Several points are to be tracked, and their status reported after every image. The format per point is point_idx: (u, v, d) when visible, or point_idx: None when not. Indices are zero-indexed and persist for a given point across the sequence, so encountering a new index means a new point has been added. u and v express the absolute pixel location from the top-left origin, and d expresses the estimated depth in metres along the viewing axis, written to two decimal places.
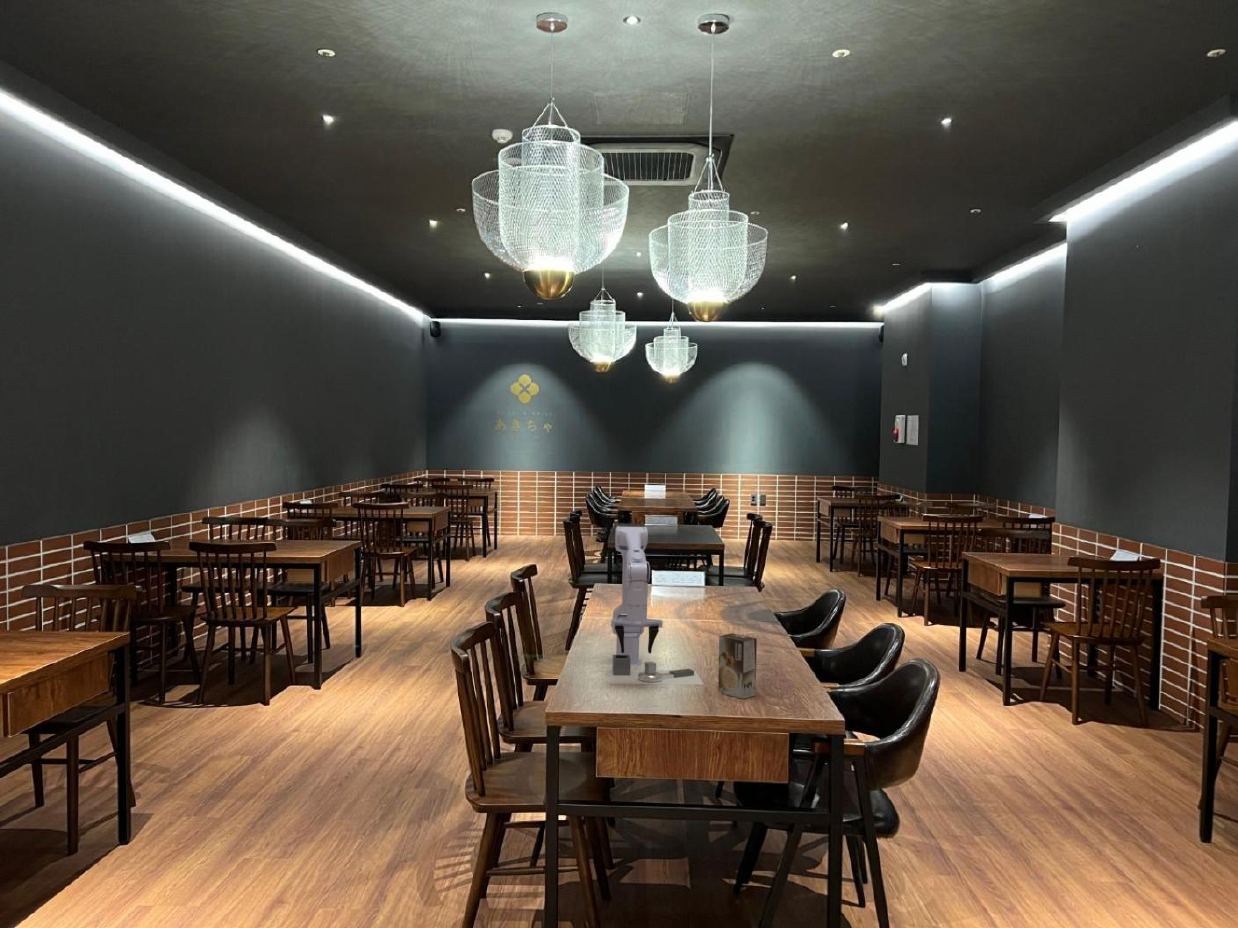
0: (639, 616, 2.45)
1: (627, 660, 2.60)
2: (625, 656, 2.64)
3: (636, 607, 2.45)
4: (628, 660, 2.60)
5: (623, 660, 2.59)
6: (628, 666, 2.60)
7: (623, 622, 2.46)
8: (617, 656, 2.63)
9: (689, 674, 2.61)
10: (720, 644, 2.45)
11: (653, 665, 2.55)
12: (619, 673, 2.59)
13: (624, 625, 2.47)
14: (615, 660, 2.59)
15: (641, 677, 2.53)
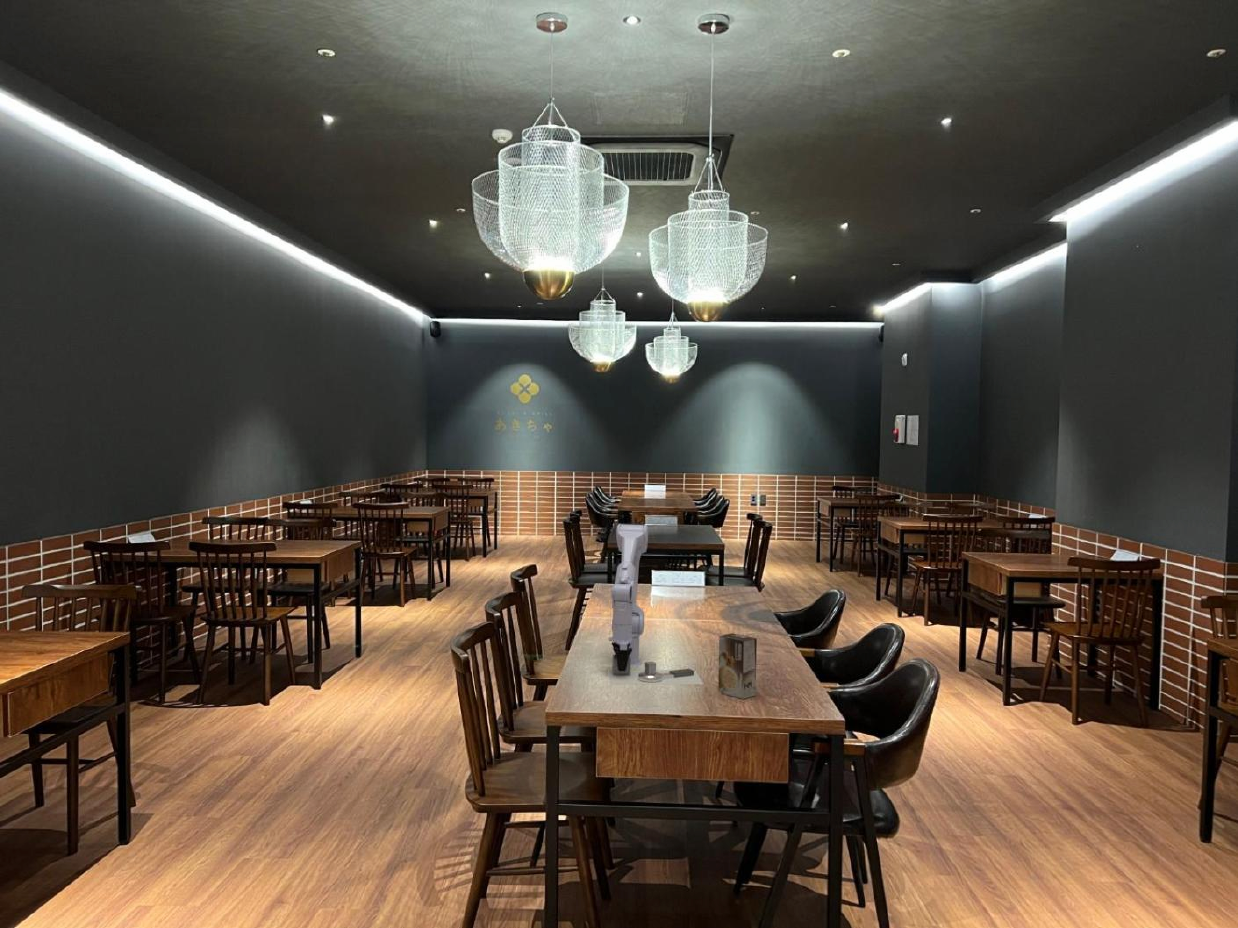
0: None
1: None
2: None
3: None
4: (628, 660, 2.60)
5: None
6: (628, 666, 2.60)
7: None
8: None
9: (689, 674, 2.61)
10: (720, 644, 2.45)
11: (653, 665, 2.55)
12: (619, 673, 2.59)
13: None
14: (615, 660, 2.59)
15: (641, 677, 2.53)
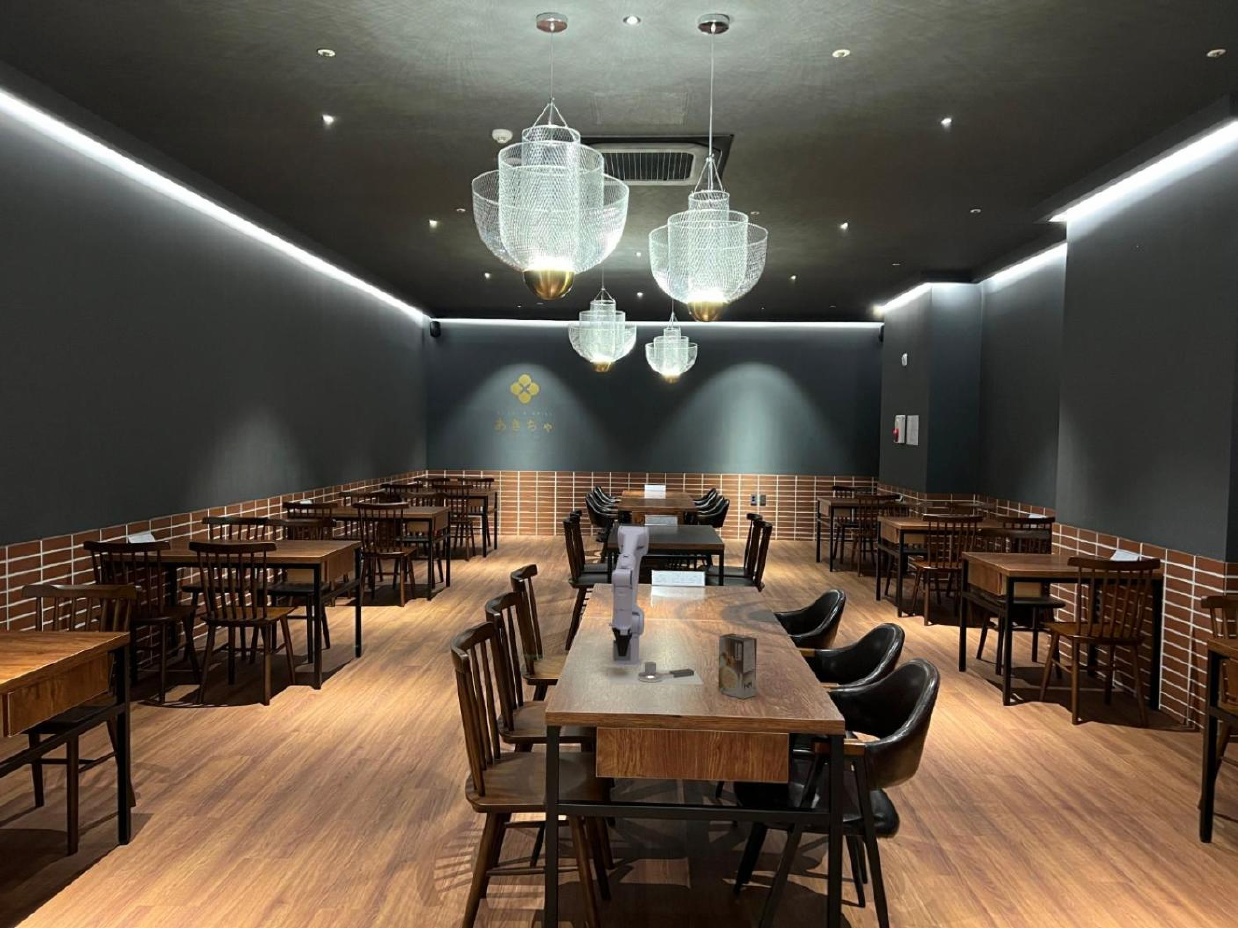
0: (613, 618, 2.61)
1: None
2: None
3: (613, 609, 2.62)
4: (628, 645, 2.59)
5: None
6: (628, 651, 2.60)
7: None
8: None
9: (689, 674, 2.61)
10: (720, 644, 2.45)
11: (653, 665, 2.55)
12: (619, 658, 2.59)
13: None
14: (616, 645, 2.59)
15: (641, 677, 2.53)
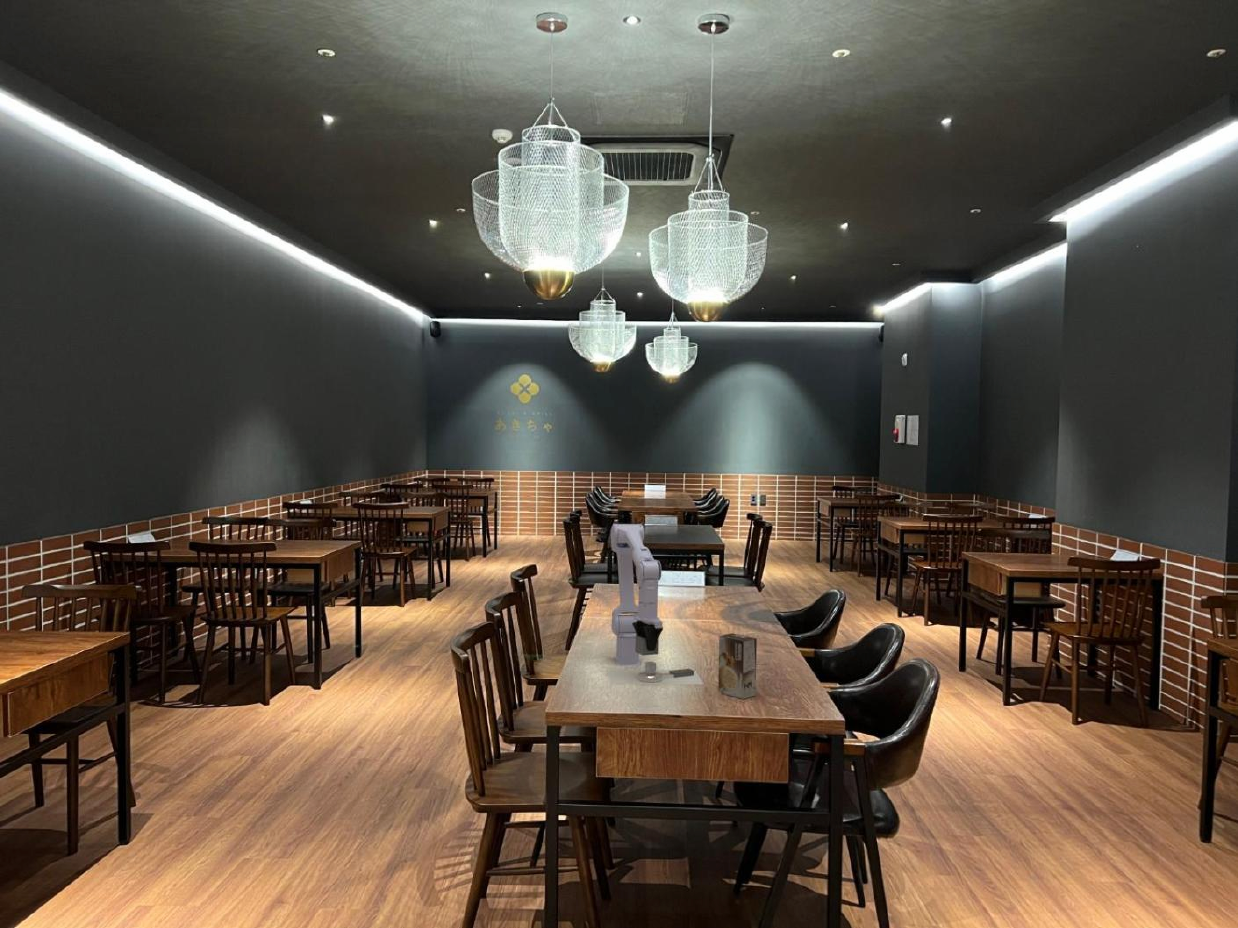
0: (639, 613, 2.54)
1: None
2: None
3: (638, 603, 2.55)
4: None
5: None
6: (656, 645, 2.55)
7: (636, 616, 2.59)
8: (641, 636, 2.57)
9: (689, 674, 2.61)
10: (720, 644, 2.45)
11: (653, 665, 2.55)
12: (648, 653, 2.54)
13: None
14: (645, 639, 2.53)
15: (641, 677, 2.53)
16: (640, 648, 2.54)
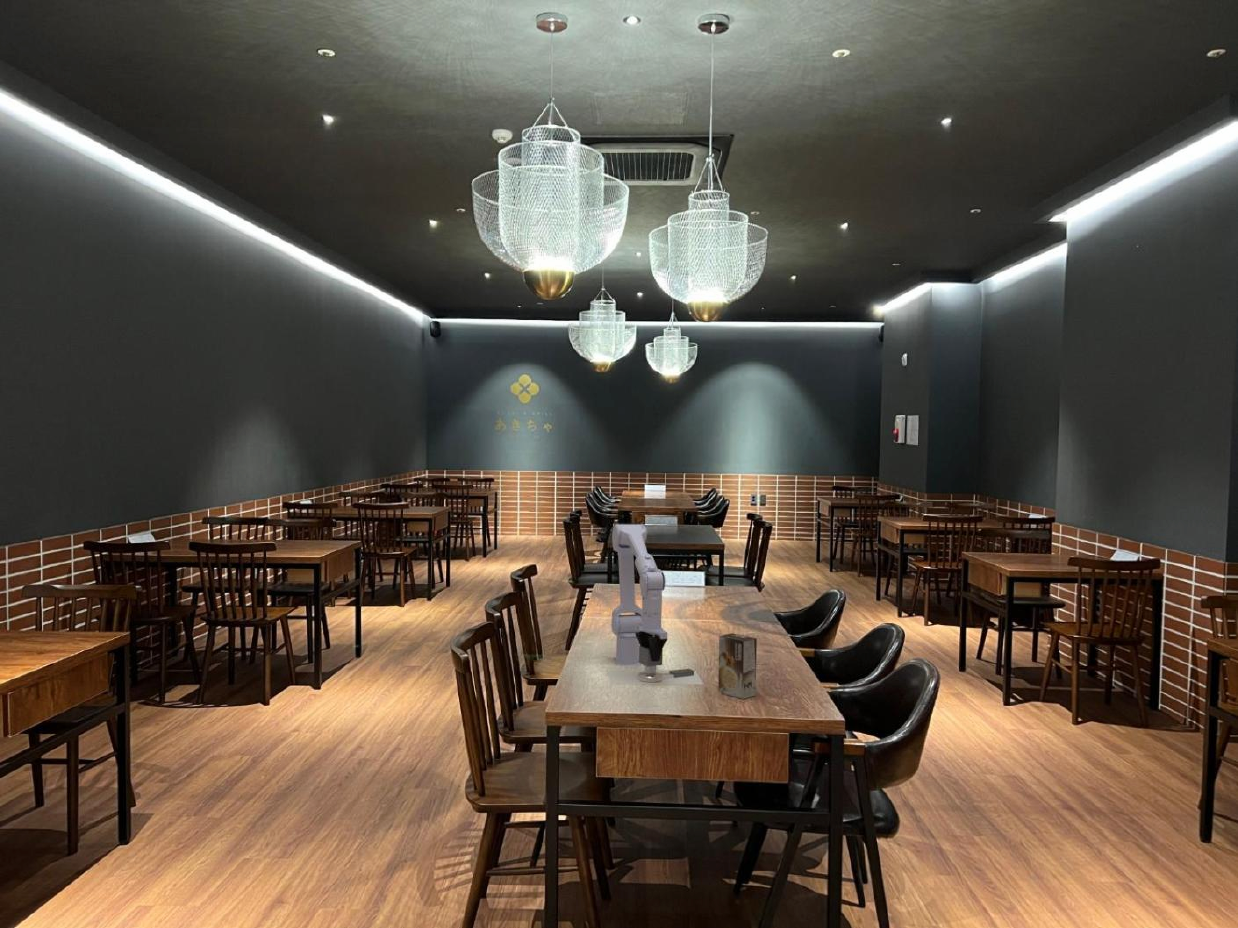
0: (643, 623, 2.54)
1: None
2: None
3: (642, 614, 2.54)
4: None
5: None
6: None
7: (639, 626, 2.58)
8: (644, 646, 2.56)
9: (689, 674, 2.61)
10: (720, 644, 2.45)
11: None
12: (652, 663, 2.53)
13: (644, 630, 2.58)
14: (649, 650, 2.52)
15: (641, 677, 2.53)
16: (644, 659, 2.54)
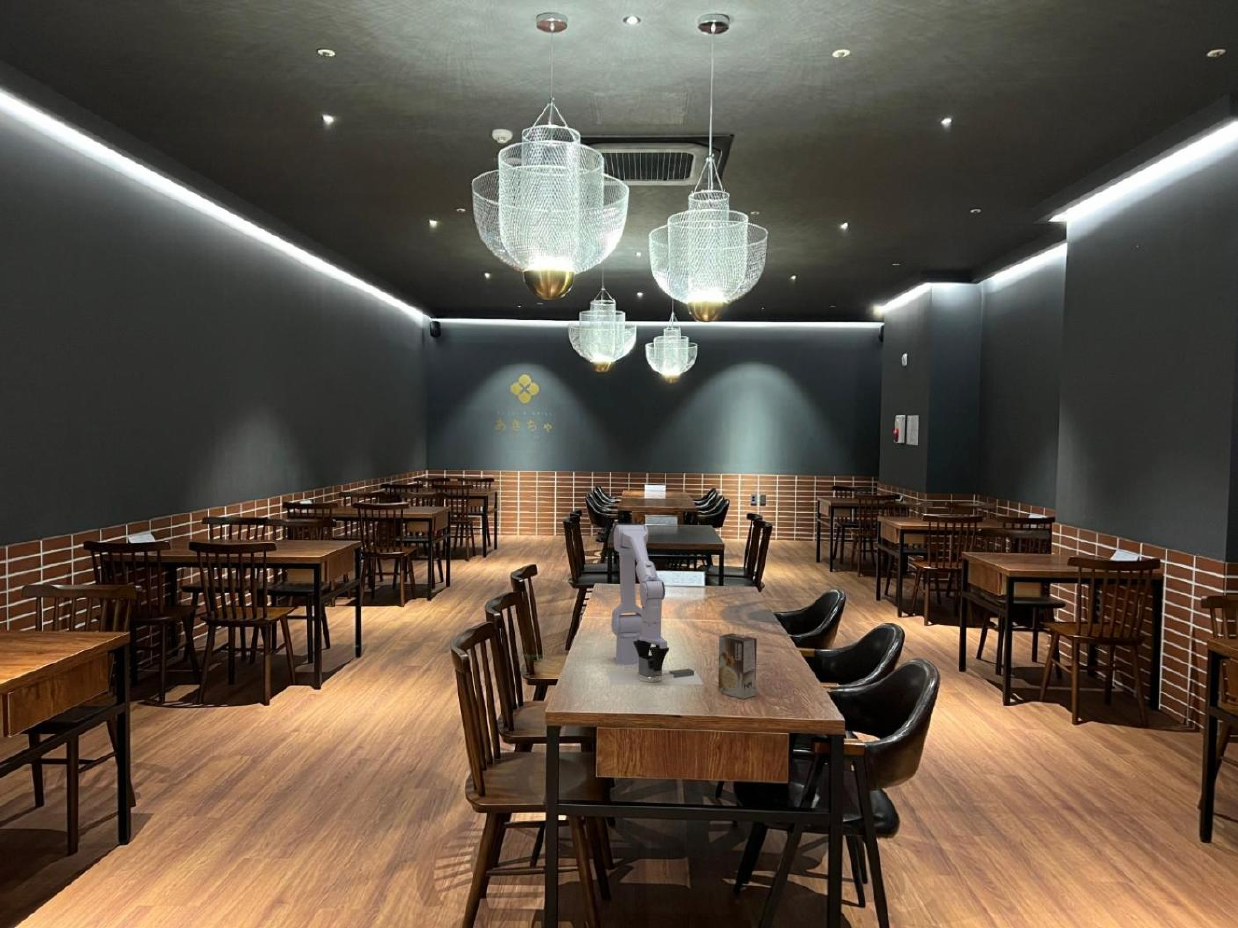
0: (643, 632, 2.54)
1: None
2: (651, 656, 2.58)
3: (642, 623, 2.54)
4: None
5: None
6: None
7: (639, 635, 2.58)
8: (644, 657, 2.56)
9: (689, 674, 2.61)
10: (720, 644, 2.45)
11: None
12: (652, 674, 2.53)
13: None
14: (649, 661, 2.52)
15: (641, 677, 2.53)
16: (644, 670, 2.54)
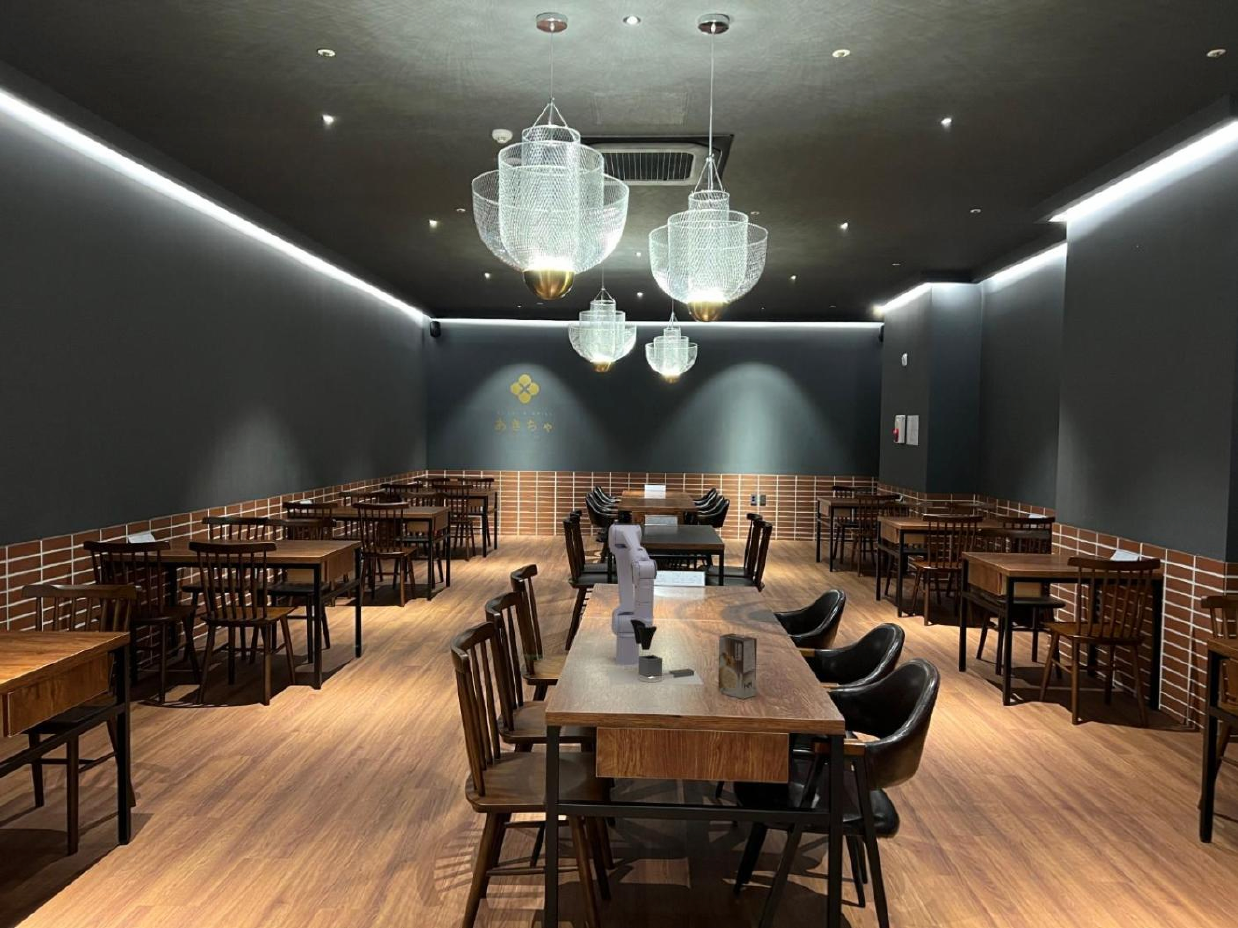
0: (634, 611, 2.58)
1: (659, 660, 2.54)
2: (651, 656, 2.58)
3: (634, 601, 2.59)
4: (660, 660, 2.54)
5: (656, 661, 2.53)
6: (660, 666, 2.54)
7: None
8: (644, 657, 2.56)
9: (689, 674, 2.61)
10: (720, 644, 2.45)
11: None
12: (652, 674, 2.53)
13: None
14: (649, 661, 2.52)
15: (641, 677, 2.53)
16: (644, 670, 2.54)
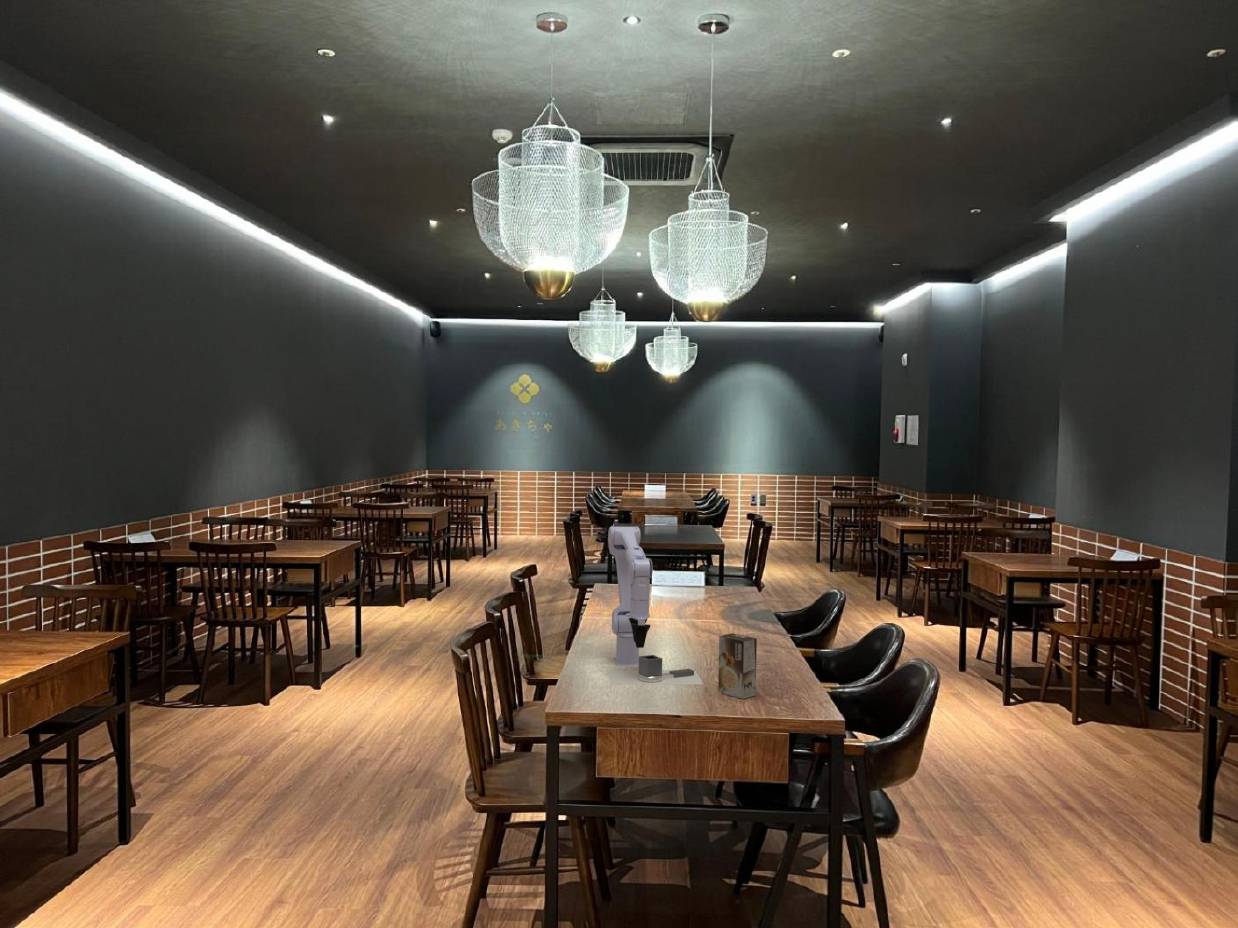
0: (630, 609, 2.60)
1: (659, 660, 2.54)
2: (651, 656, 2.58)
3: (630, 600, 2.61)
4: (660, 660, 2.54)
5: (656, 661, 2.53)
6: (660, 666, 2.54)
7: None
8: (644, 657, 2.56)
9: (689, 674, 2.61)
10: (720, 644, 2.45)
11: None
12: (652, 674, 2.53)
13: None
14: (649, 661, 2.52)
15: (641, 677, 2.53)
16: (644, 670, 2.54)
